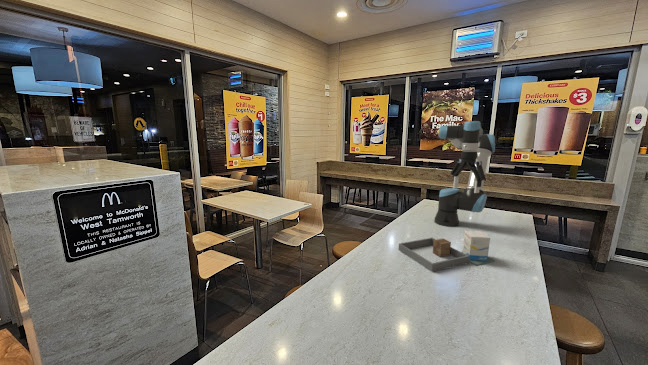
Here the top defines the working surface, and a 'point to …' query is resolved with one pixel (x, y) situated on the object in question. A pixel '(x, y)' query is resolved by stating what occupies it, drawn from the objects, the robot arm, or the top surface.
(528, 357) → the top surface
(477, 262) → the pad
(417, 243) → the bin
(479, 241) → the ink box
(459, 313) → the top surface
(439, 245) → the walnut block
